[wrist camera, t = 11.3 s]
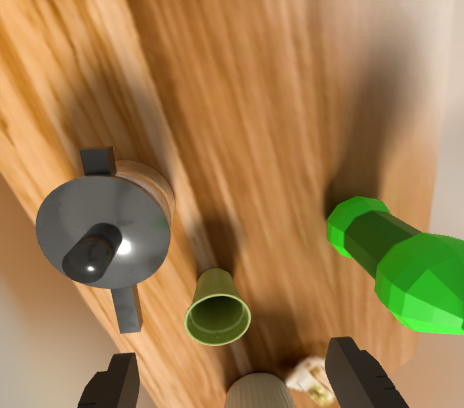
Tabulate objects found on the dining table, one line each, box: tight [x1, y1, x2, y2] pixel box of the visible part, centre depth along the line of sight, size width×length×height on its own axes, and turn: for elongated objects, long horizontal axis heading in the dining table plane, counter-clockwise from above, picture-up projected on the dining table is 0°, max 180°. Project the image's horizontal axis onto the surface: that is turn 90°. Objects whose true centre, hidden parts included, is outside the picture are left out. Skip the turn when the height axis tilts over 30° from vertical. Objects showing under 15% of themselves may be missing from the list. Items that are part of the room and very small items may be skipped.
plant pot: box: [184, 268, 251, 346], centre depth 39 cm, size 9×9×9 cm
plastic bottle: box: [327, 196, 464, 334], centre depth 30 cm, size 10×10×25 cm
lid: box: [36, 174, 171, 289], centre depth 25 cm, size 14×14×6 cm
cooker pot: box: [80, 146, 175, 334], centre depth 34 cm, size 25×13×9 cm, turn 0°
